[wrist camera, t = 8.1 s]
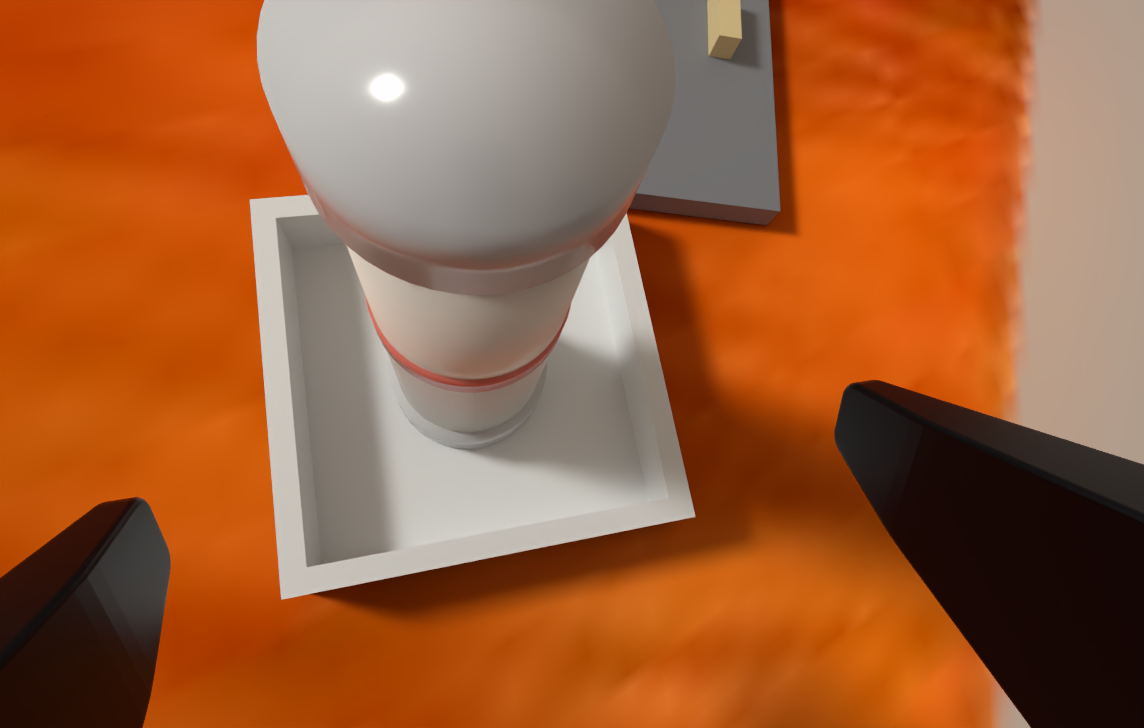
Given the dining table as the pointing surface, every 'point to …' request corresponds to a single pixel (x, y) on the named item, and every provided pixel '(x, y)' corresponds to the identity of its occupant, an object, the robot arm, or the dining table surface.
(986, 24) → the dining table surface
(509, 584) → the dining table surface
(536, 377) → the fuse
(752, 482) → the dining table surface
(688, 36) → the panel
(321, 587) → the parts tray
